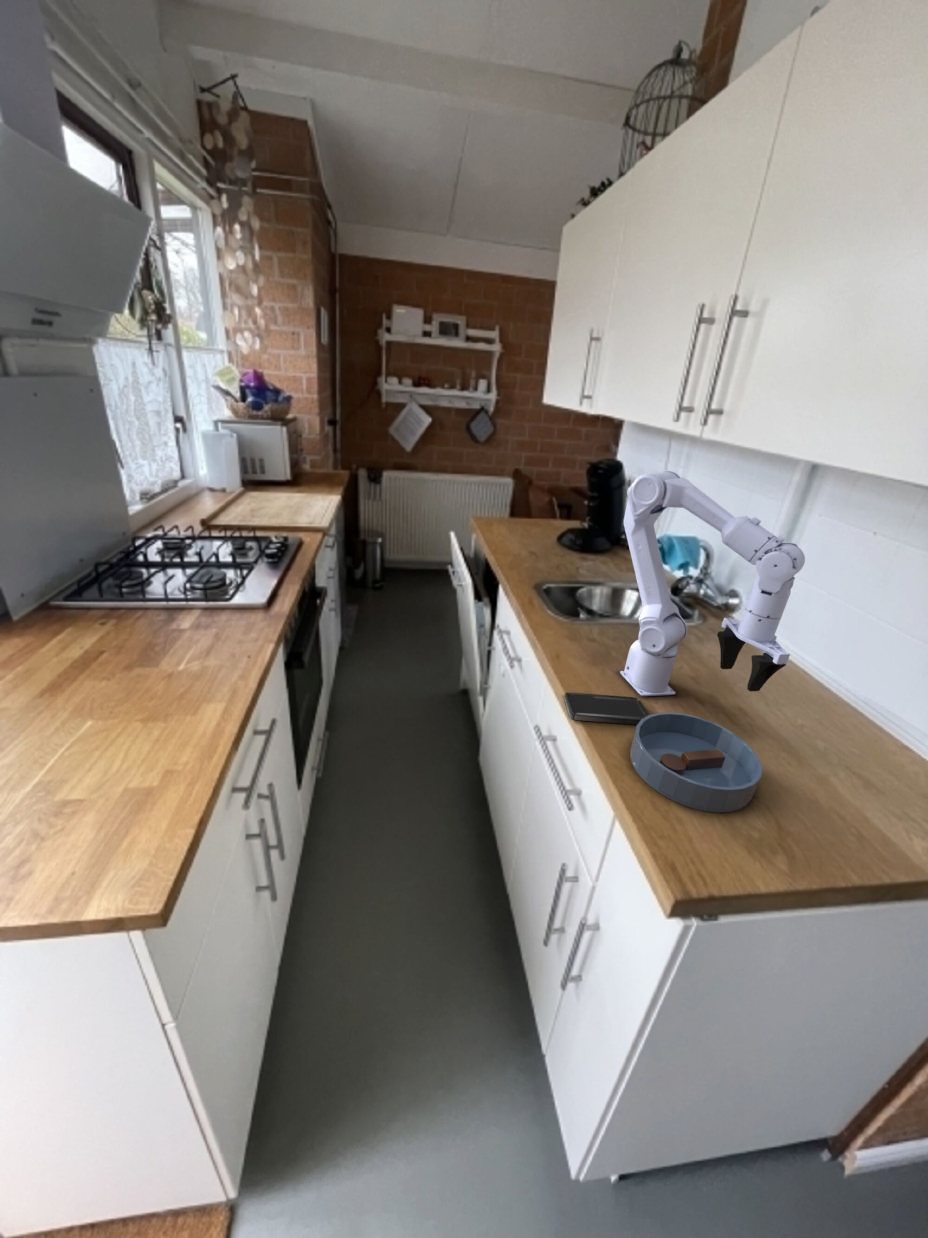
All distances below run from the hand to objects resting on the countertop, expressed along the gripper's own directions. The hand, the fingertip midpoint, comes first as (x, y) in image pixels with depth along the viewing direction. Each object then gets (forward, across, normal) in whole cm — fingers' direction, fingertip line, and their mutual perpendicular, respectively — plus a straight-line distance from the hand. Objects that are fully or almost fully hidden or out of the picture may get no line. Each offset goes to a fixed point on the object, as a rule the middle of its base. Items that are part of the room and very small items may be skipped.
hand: (738, 678), depth 95 cm
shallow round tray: (+9, -12, +16) cm, 22 cm away
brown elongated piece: (+9, -12, +16) cm, 22 cm away
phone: (+10, +5, +23) cm, 25 cm away
